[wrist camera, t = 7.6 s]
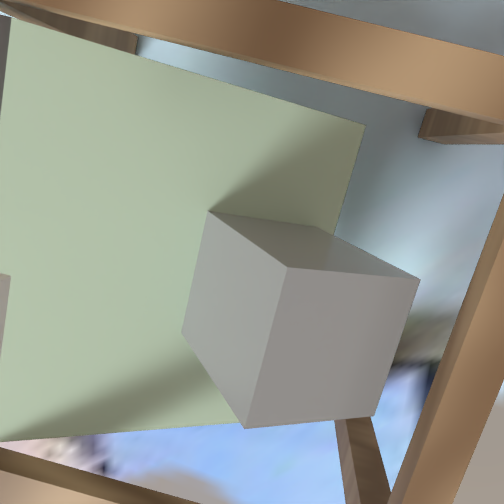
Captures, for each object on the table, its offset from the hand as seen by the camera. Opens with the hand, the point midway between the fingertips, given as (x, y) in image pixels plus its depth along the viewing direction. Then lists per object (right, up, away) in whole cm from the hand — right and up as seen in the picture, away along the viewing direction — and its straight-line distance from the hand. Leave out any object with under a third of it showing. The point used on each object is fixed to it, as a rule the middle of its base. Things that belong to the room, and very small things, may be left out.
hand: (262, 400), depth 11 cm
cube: (0, +2, +9) cm, 9 cm away
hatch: (-4, +3, +8) cm, 9 cm away
